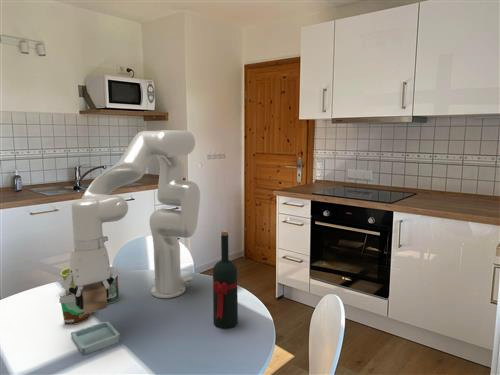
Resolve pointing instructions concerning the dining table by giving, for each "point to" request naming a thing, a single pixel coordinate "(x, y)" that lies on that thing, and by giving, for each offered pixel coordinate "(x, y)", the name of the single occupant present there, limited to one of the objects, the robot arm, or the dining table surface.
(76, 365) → the dining table surface
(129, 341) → the dining table surface
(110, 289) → the canned tomato
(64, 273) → the plant pot
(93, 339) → the tray
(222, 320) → the wine bottle
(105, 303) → the cube
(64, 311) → the food container
